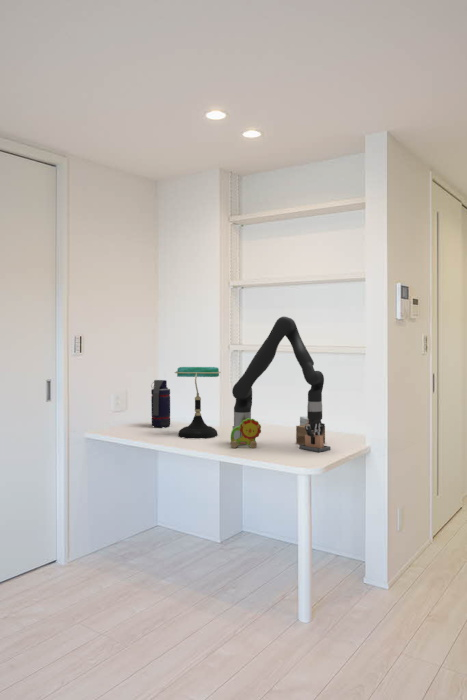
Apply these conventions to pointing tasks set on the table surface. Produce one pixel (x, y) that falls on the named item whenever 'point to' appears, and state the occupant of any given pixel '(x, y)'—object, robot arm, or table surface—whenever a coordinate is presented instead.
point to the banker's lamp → (197, 404)
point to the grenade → (160, 403)
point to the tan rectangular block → (317, 441)
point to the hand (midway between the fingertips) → (314, 443)
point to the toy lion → (246, 433)
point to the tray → (326, 448)
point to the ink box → (304, 420)
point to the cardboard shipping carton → (302, 432)
